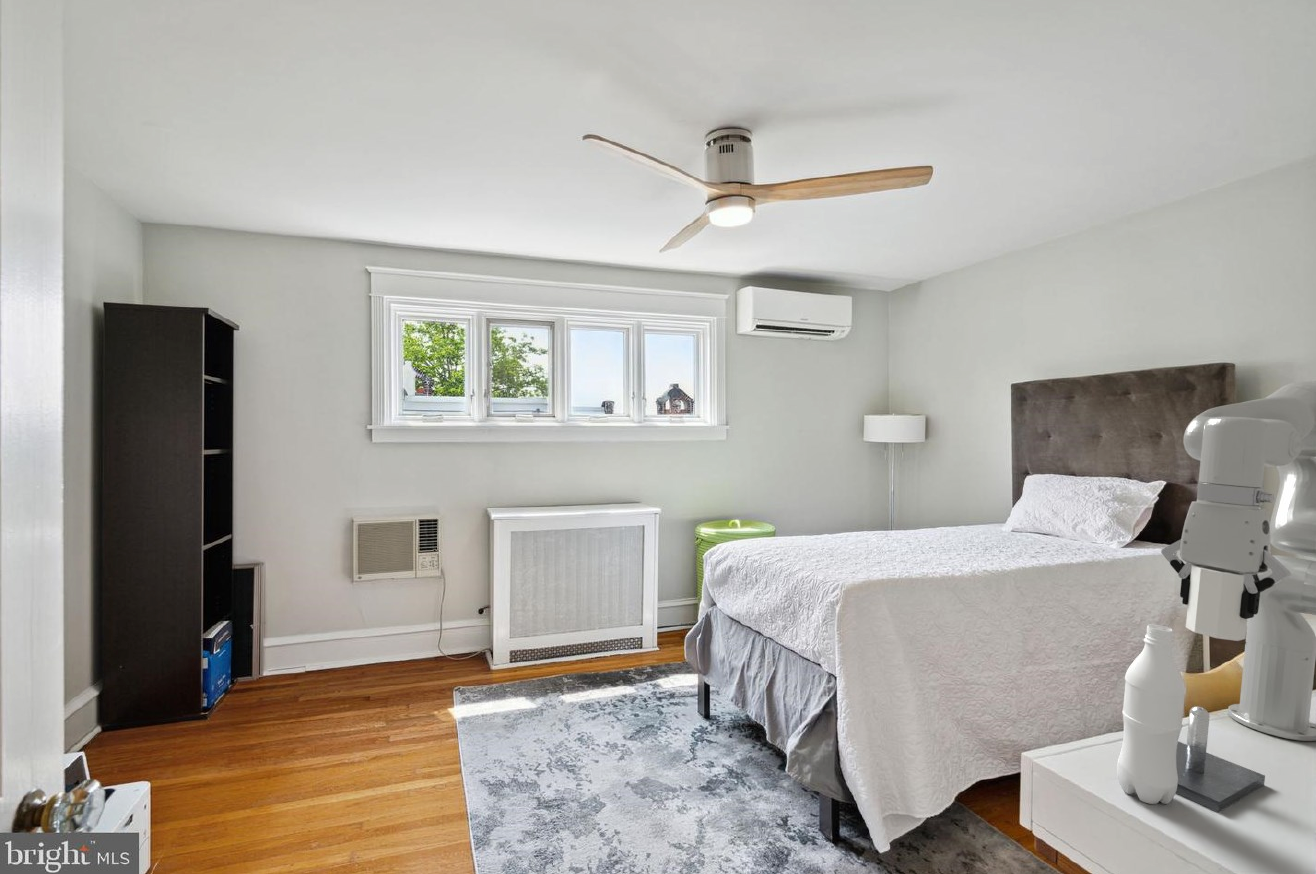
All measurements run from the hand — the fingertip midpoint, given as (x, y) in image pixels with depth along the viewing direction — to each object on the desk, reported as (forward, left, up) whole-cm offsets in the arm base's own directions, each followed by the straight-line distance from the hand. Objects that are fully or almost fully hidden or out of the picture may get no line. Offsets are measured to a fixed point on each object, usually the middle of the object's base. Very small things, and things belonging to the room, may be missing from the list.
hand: (1217, 609), depth 103 cm
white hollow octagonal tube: (0, 0, -4) cm, 4 cm away
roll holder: (+3, 0, -26) cm, 26 cm away
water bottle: (+16, -1, -26) cm, 31 cm away
